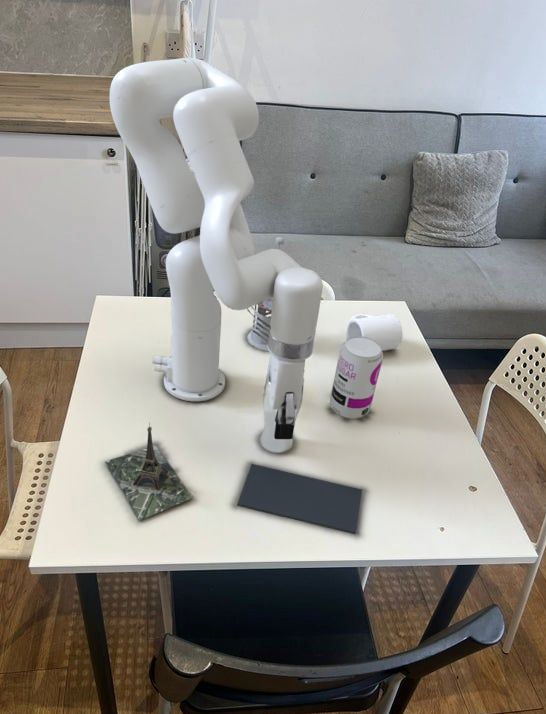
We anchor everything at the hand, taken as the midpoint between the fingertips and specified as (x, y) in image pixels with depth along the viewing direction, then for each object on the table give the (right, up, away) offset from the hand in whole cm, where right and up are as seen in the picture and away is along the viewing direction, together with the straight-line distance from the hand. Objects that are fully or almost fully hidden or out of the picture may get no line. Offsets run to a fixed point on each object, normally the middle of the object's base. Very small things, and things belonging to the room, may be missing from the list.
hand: (280, 420), depth 116 cm
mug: (+22, +17, +33) cm, 42 cm away
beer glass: (-1, -4, +4) cm, 6 cm away
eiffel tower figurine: (-23, -10, -7) cm, 26 cm away
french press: (-2, +18, +31) cm, 36 cm away
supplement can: (+15, +2, +14) cm, 20 cm away
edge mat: (+3, -13, -7) cm, 15 cm away
